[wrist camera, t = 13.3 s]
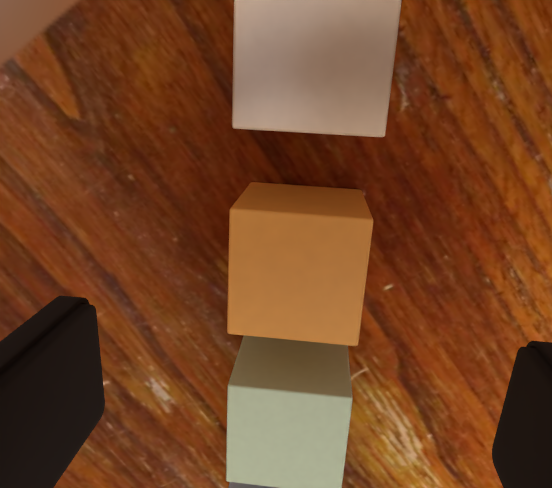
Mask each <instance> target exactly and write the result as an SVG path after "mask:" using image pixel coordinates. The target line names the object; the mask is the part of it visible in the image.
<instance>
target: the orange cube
mask: <svg viewBox="0 0 552 488" xmlns="http://www.w3.org/2000/svg"><path fill="white" fill-rule="evenodd" d="M372 229H373V218H372V215H371V213H370V210H369V208H368V205H367V203H366V200H365V198H364V195H363V193H362V190H359V189H345V188H331V187H317V186H303V185H289V184H274V183H260V182H251V183H250V184H249V185H248V187H247V188H246V189H245V190H244V192H243V193H242V194H241V196H240V197H239V198H238V199H237V201H236V202H235V203H234V204H233V206H232V207H231V208H230V215H229V266H228V317H227V332H228V334H236V335H246V336H256V337H267V338H277V339H287V340H298V341H308V342H319V343H329V344H339V345H350V346H357V345H358V340H359V332H360V324H361V316H362V308H363V300H364V292H365V284H366V276H367V269H368V261H369V253H370V245H371V237H372Z"/></svg>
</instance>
